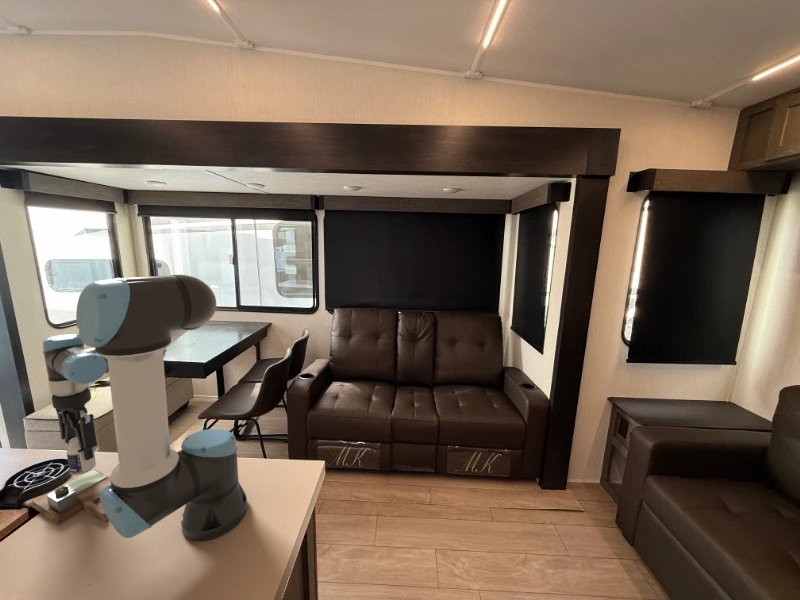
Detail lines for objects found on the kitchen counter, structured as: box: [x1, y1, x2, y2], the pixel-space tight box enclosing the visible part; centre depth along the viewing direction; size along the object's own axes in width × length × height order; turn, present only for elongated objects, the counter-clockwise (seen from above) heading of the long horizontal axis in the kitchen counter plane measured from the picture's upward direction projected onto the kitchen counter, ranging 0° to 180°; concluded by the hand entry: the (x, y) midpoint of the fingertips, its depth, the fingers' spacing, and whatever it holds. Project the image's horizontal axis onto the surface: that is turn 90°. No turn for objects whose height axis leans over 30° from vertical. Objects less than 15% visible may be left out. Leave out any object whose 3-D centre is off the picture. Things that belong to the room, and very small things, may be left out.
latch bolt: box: [47, 485, 79, 515], centre depth 86 cm, size 5×4×5 cm
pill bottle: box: [66, 437, 96, 476], centre depth 93 cm, size 5×5×10 cm
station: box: [29, 468, 111, 525], centre depth 89 cm, size 24×14×2 cm, turn 68°
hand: (82, 465), depth 94 cm, fingers closed on pill bottle, 5 cm apart
